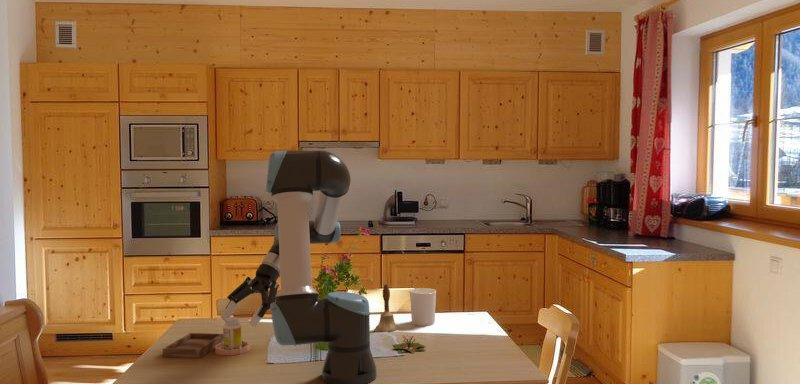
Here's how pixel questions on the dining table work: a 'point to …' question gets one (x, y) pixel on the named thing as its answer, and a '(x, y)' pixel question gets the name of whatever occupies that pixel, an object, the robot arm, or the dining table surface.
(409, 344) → the lily flower
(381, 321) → the hand bell
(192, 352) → the walnut tray
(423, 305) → the candle holder
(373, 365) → the robot arm
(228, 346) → the supplement bottle
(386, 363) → the dining table surface
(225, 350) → the terracotta ring
